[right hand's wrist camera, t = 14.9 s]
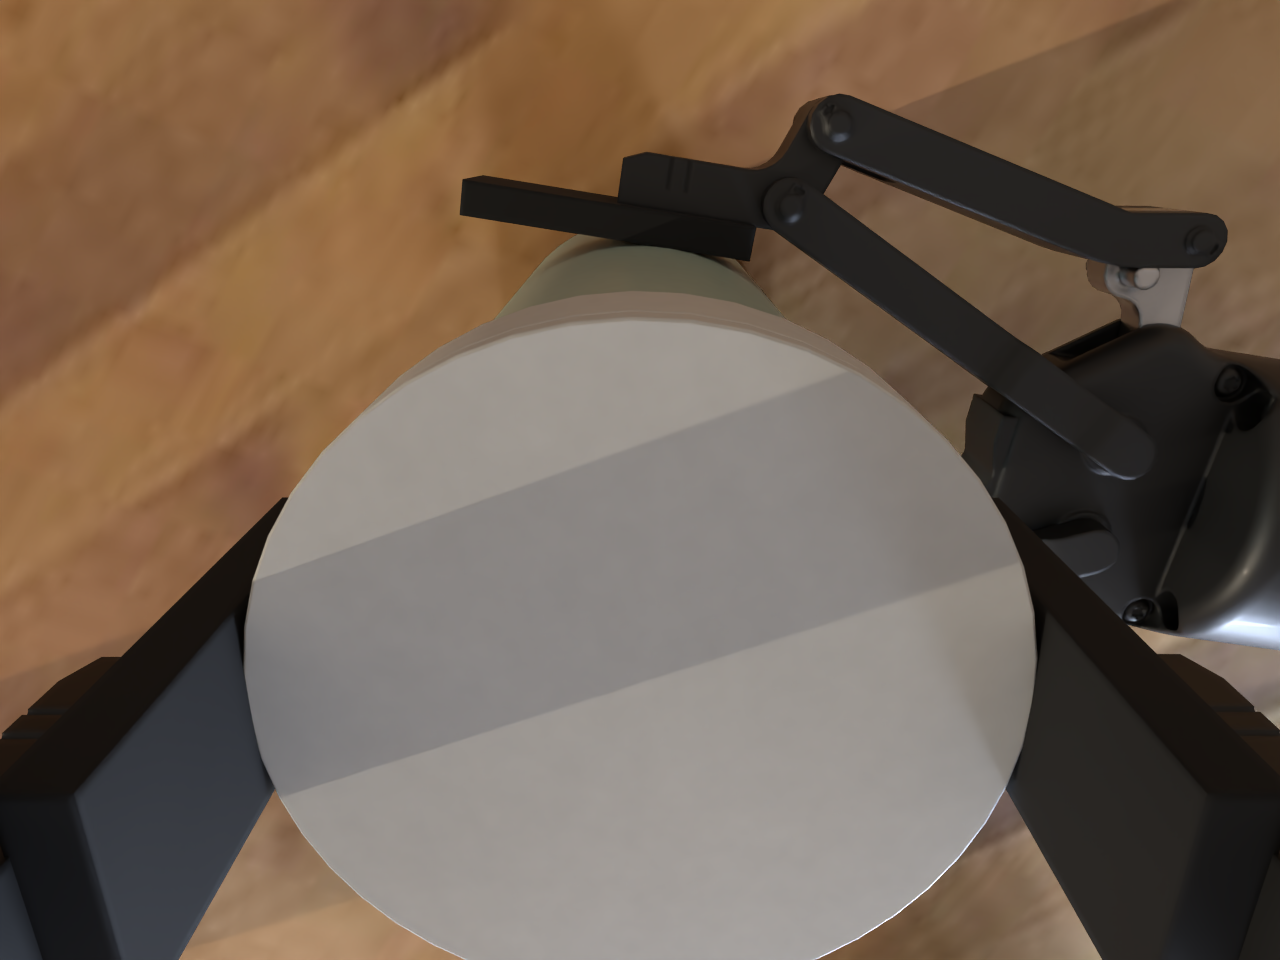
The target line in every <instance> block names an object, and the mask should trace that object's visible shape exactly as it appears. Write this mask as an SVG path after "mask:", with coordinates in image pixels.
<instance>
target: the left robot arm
mask: <svg viewBox="0 0 1280 960" xmlns="http://www.w3.org/2000/svg"><path fill="white" fill-rule="evenodd" d="M840 165H841V166H844V167H846V168H849V169H851V170H854V171H856V172H859V173H861V174H864V175H866V176H869V177H871V178H873V179H876V180H878V181H881V182H883V183H886V184H888V185H891V186H893V187H896V188H898V189H901V190H903V191H906V192H908V193H911V194H913V195H915V196H918V197H920V198H923V199H925V200H928V201H930V202H933V203H935V204H938V205H940V206H943V207H945V208H948V209H950V210H952V211H955V212H957V213H960V214H962V215H965V216H967V217H970V218H972V219H975V220H977V221H980V222H982V223H985V224H987V225H989V226H992V227H994V228H997V229H999V230H1002V231H1004V232H1007V233H1009V234H1012V235H1014V236H1017V237H1019V238H1022V239H1024V240H1027V241H1029V242H1031V243H1034V244H1036V245H1039V246H1042V247H1045V248H1048V249H1051V250H1054V251H1057V252H1061V253H1065V254H1069V255H1073V256H1077V257H1081V258H1085V259H1088V260H1087V262H1086V270H1087V277H1088V281H1089V282H1090V284H1091V285H1092V287H1094V288H1095V289H1096V290H1098V291H1101V292H1105V293H1108V294H1111V295H1112V296H1114V297H1115V298H1116V299H1117V301H1118V302H1119V304H1120V307H1121V319H1118V320H1115V321H1113V322H1111V323H1109V324H1106V325H1104V326H1102V327H1100V328H1098V329H1096V330H1093V331H1091V332H1089V333H1087V334H1085V335H1083V336H1081V337H1078V338H1076V339H1074V340H1072V341H1070V342H1068V343H1066V344H1063V345H1061V346H1059V347H1057V348H1055V349H1053V350H1050V351H1048V352H1046V353H1044V354H1042V355H1040V354H1039V353H1038V352H1036V351H1035V350H1033V349H1032V348H1030V347H1029V346H1027V345H1026V344H1024V343H1023V342H1021V341H1020V340H1018V339H1017V338H1015V337H1014V336H1012V335H1011V334H1010V333H1008V332H1007V331H1006V330H1004V329H1003V328H1002V327H1000V326H999V325H998V324H996V323H995V322H994V321H992V320H991V319H990V318H988V317H987V316H986V315H984V314H983V313H982V312H980V311H979V310H978V309H976V308H975V307H974V306H972V305H971V304H970V303H968V302H967V301H966V300H964V299H963V298H961V297H960V296H959V295H957V294H956V293H955V292H953V291H952V290H951V289H949V288H948V287H947V286H945V285H944V284H943V283H941V282H940V281H939V280H937V279H936V278H935V277H933V276H932V275H931V274H929V273H928V272H927V271H925V270H924V269H923V268H921V267H920V266H919V265H917V264H916V263H915V262H913V261H912V260H911V259H909V258H908V257H907V256H905V255H904V254H903V253H901V252H900V251H899V250H897V249H896V248H895V247H893V246H892V245H890V244H889V243H888V242H886V241H885V240H884V239H882V238H881V237H880V236H878V235H877V234H876V233H874V232H873V231H872V230H870V229H869V228H868V227H866V226H865V225H864V224H862V223H861V222H860V221H858V220H857V219H856V218H854V217H853V216H852V215H850V214H849V213H848V212H846V211H845V210H844V209H842V208H841V207H840V206H838V205H837V204H836V203H834V202H833V201H832V200H830V199H829V198H828V197H826V196H825V195H824V192H825V190H826V189H827V187H828V185H829V184H830V182H831V180H832V179H833V177H834V175H835V174H836V172H837V170H838V169H839V167H840ZM460 215H463V216H469V217H476V218H482V219H488V220H494V221H500V222H507V223H513V224H519V225H525V226H532V227H538V228H544V229H550V230H557V231H563V232H569V233H575V234H581V235H588V236H594V237H600V238H606V239H613V240H619V241H625V242H631V243H637V244H644V245H650V246H656V247H662V248H670V249H675V250H681V251H687V252H693V253H700V254H706V255H712V256H718V257H725V258H731V259H737V260H743V261H749V262H750V257H751V251H752V246H753V241H754V236H755V231H756V227H757V228H763V229H769V230H774V231H775V232H777V233H778V234H779V235H781V236H782V237H783V238H785V239H786V240H788V241H789V242H790V243H792V244H793V245H794V246H796V247H797V248H799V249H800V250H801V251H803V252H804V253H805V254H807V255H808V256H810V257H811V258H812V259H814V260H815V261H817V262H818V263H819V264H821V265H822V266H823V267H825V268H826V269H828V270H829V271H830V272H832V273H833V274H834V275H836V276H837V277H839V278H840V279H841V280H843V281H844V282H845V283H847V284H848V285H850V286H851V287H852V288H854V289H855V290H856V291H858V292H859V293H861V294H862V295H863V296H865V297H866V298H868V299H869V300H870V301H872V302H873V303H874V304H876V305H877V306H879V307H880V308H881V309H883V310H884V311H885V312H887V313H888V314H890V315H891V316H892V317H894V318H895V319H896V320H898V321H899V322H901V323H902V324H903V325H905V326H906V327H907V328H909V329H910V330H912V331H913V332H914V333H916V334H917V335H918V336H920V337H921V338H923V339H924V340H925V341H927V342H928V343H930V344H931V345H932V346H934V347H935V348H936V349H938V350H939V351H941V352H942V353H943V354H945V355H946V356H947V357H949V358H950V359H951V360H953V361H954V362H955V363H957V364H958V365H960V366H961V367H962V368H964V369H965V370H966V371H968V372H969V373H971V374H972V375H973V376H975V377H976V378H977V379H979V380H980V381H982V382H983V383H984V384H986V385H987V386H988V388H987V389H986V390H985V392H984V393H983V395H979V394H974V395H973V399H972V402H971V405H970V409H969V412H968V415H967V419H966V436H965V450H964V452H963V454H962V456H961V457H962V458H963V459H964V461H965V462H966V463H967V464H968V465H969V467H970V468H971V469H972V470H973V471H974V473H975V474H976V475H977V476H978V477H979V479H980V480H981V482H982V483H983V485H984V487H985V488H986V490H987V492H988V493H989V495H990V497H991V498H1000V499H1001V500H1002V501H1003V502H1004V503H1005V504H1006V505H1007V506H1008V507H1009V508H1010V509H1011V510H1012V511H1013V512H1014V513H1015V514H1016V515H1017V516H1018V517H1019V518H1020V519H1021V520H1022V521H1023V522H1024V523H1025V524H1026V525H1027V526H1028V527H1029V528H1030V529H1031V530H1032V531H1033V532H1034V533H1035V534H1036V535H1037V536H1038V537H1039V538H1040V539H1041V540H1042V541H1043V542H1044V543H1045V544H1046V545H1047V546H1048V547H1049V548H1050V549H1051V550H1052V551H1053V552H1054V553H1055V554H1056V555H1057V556H1058V557H1059V558H1060V559H1061V560H1062V561H1063V562H1064V563H1065V564H1066V565H1067V566H1068V567H1069V568H1070V569H1071V570H1072V571H1073V572H1074V573H1075V574H1076V575H1077V576H1078V577H1079V578H1080V579H1081V580H1082V581H1083V582H1085V583H1086V584H1087V585H1088V586H1089V587H1090V588H1091V589H1092V590H1093V591H1094V592H1095V593H1096V594H1097V595H1098V596H1099V597H1100V598H1101V599H1102V600H1103V601H1104V602H1105V603H1106V604H1107V605H1108V606H1109V607H1110V608H1111V609H1112V610H1113V611H1114V612H1115V613H1116V614H1117V615H1118V616H1119V617H1120V618H1121V619H1122V620H1123V621H1124V622H1125V623H1126V624H1127V625H1131V626H1135V627H1139V628H1143V629H1147V630H1150V631H1154V632H1159V633H1163V634H1168V635H1173V636H1180V637H1187V638H1194V639H1202V640H1209V641H1216V642H1223V643H1230V644H1237V645H1245V646H1252V647H1259V648H1266V649H1273V650H1280V359H1274V358H1268V357H1261V356H1255V355H1249V354H1242V353H1236V352H1230V351H1223V350H1217V349H1211V348H1206V347H1205V346H1203V345H1202V344H1200V343H1199V342H1198V341H1197V340H1196V339H1195V338H1194V337H1193V336H1192V335H1191V334H1190V333H1189V332H1187V331H1186V330H1184V329H1182V328H1180V326H1181V322H1182V317H1183V313H1184V308H1185V304H1186V300H1187V295H1188V291H1189V286H1190V282H1191V277H1192V273H1193V269H1194V268H1199V267H1204V266H1206V265H1208V264H1210V263H1211V262H1213V261H1215V260H1216V259H1217V257H1218V256H1219V255H1220V254H1221V253H1222V252H1223V250H1224V247H1225V245H1226V243H1227V232H1228V230H1227V228H1226V226H1225V223H1224V221H1223V220H1221V219H1220V218H1219V217H1218V216H1217V215H1213V214H1208V213H1202V212H1193V211H1185V210H1177V209H1168V208H1160V207H1152V206H1114V205H1112V204H1109V203H1107V202H1104V201H1102V200H1100V199H1097V198H1095V197H1092V196H1090V195H1088V194H1085V193H1083V192H1080V191H1078V190H1076V189H1073V188H1071V187H1068V186H1066V185H1064V184H1061V183H1059V182H1056V181H1054V180H1052V179H1049V178H1047V177H1044V176H1042V175H1040V174H1037V173H1035V172H1032V171H1030V170H1028V169H1025V168H1023V167H1020V166H1018V165H1016V164H1013V163H1011V162H1008V161H1006V160H1004V159H1001V158H999V157H996V156H994V155H992V154H989V153H987V152H984V151H982V150H980V149H977V148H975V147H972V146H970V145H968V144H965V143H963V142H960V141H958V140H956V139H953V138H951V137H948V136H946V135H944V134H941V133H939V132H936V131H934V130H932V129H929V128H927V127H924V126H922V125H920V124H917V123H915V122H912V121H910V120H908V119H905V118H903V117H900V116H898V115H896V114H893V113H891V112H888V111H886V110H884V109H881V108H879V107H876V106H874V105H872V104H869V103H867V102H864V101H862V100H860V99H857V98H855V97H852V96H850V95H844V94H836V95H831V96H826V97H822V98H818V99H816V100H813V101H809V102H807V103H806V104H804V105H803V106H802V107H800V108H799V110H798V112H797V113H796V115H795V116H794V120H793V125H792V127H791V128H790V130H789V132H788V134H787V135H786V137H785V139H784V141H783V142H782V144H781V146H780V148H779V149H778V151H777V152H776V154H775V155H774V156H773V157H772V158H771V159H770V160H769V161H768V162H767V163H765V164H763V165H761V166H758V167H754V168H741V167H735V166H729V165H723V164H717V163H711V162H705V161H699V160H693V159H687V158H681V157H675V156H669V155H663V154H657V153H651V152H644V153H640V154H636V155H631V156H627V157H624V158H623V164H622V171H621V178H620V185H619V192H618V197H613V196H607V195H601V194H595V193H588V192H582V191H576V190H570V189H564V188H558V187H552V186H546V185H539V184H533V183H527V182H521V181H515V180H509V179H503V178H497V177H491V176H484V175H482V176H477V177H472V178H467V179H463V180H462V193H461V205H460Z"/></svg>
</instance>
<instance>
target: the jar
mask: <svg viewBox="0 0 1280 960" xmlns="http://www.w3.org/2000/svg"><path fill="white" fill-rule="evenodd" d="M626 291H644V292H666V293H685V294H691V295H696V296H702V297H707V298H713V299H718V300H724V301H730V302H735V303H738V304H741V305H744V306H747V307H750V308H754V309H757V310H760V311H763V312H766V313H769V314H772V315H775V316H778V317H781V318H784V316H783V315H782V314H781V313H780V312H779V310H778V309H777V308H776V307H775V306H774V304H773V303H772V302H771V301H770V300H769V298H768V297H767V296H766V295H765V294H764V292H763V291H762V290H761V289H760V288H759V287H758V285H757V284H756V283H755V282H754V281H753V279H752V278H751V277H750V276H749V275H748V273H747V272H746V271H745V270H744V269H743V267H742V266H741V265H740V264H739V263H738V262H737V261H736V260H735V259H731V258H725V257H718V256H712V255H706V254H700V253H693V252H687V251H681V250H675V249H670V248H662V247H656V246H650V245H644V244H637V243H631V242H625V241H619V240H613V239H606V238H600V237H594V236H588V235H581V234H577V235H575V236H573V237H572V238H570V239H569V240H567V241H566V242H564V243H563V244H561V245H560V246H558V247H557V248H556V249H555V250H554V251H553V252H552V253H551V254H549V255H548V256H547V257H546V258H545V259H544V260H543V261H542V263H541V264H540V265H539V266H538V267H537V268H536V270H535V271H534V272H533V273H532V274H531V276H530V277H529V278H528V279H527V280H526V282H525V283H524V284H523V285H522V286H521V288H520V289H519V290H518V291H517V292H516V294H515V295H514V296H513V297H512V298H511V300H510V301H509V302H508V303H507V304H506V306H505V307H504V308H503V309H502V310H501V312H500V313H499V314H498V315H497V316H496V318H495V319H498V318H501V317H503V316H506V315H509V314H511V313H514V312H517V311H520V310H522V309H525V308H528V307H531V306H535V305H540V304H544V303H549V302H553V301H558V300H562V299H567V298H571V297H575V296H580V295H591V294H603V293H614V292H626ZM495 319H494V320H495ZM784 319H785V318H784Z"/></svg>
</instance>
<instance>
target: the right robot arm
mask: <svg viewBox="0 0 1280 960" xmlns="http://www.w3.org/2000/svg"><path fill="white" fill-rule="evenodd" d="M287 500H288V498H281V499H280V500H279V501H278V502H277V503H276V504H275V505H274V506H273V507H272V508H271V509H270V510H269V511H268V512H267V513H266V514H265V515H264V516H263V517H262V518H261V519H260V520H259V521H258V522H257V523H256V524H255V525H254V526H253V527H252V528H251V529H250V530H249V531H248V532H247V533H246V534H245V535H244V536H243V537H242V538H241V539H240V540H239V541H238V542H237V543H236V544H235V545H234V546H233V547H232V548H231V549H230V550H229V551H228V552H227V553H226V554H225V555H224V556H223V557H222V558H221V559H220V560H219V561H218V562H217V563H216V564H215V565H214V566H213V567H212V568H211V569H210V570H209V571H208V572H207V573H206V574H205V575H204V576H203V577H202V578H201V579H200V580H199V581H198V582H197V583H196V584H195V585H193V586H192V587H191V588H190V589H189V590H188V591H187V592H186V593H185V594H184V595H183V596H182V597H181V598H180V599H179V600H178V601H177V602H176V603H175V604H174V605H173V606H172V607H171V608H170V609H169V610H168V611H167V612H166V613H165V614H164V615H163V616H162V617H161V618H160V619H159V620H158V621H157V622H156V623H155V624H154V625H153V626H152V627H151V628H150V629H149V630H148V631H147V632H146V633H145V634H144V635H143V636H142V637H141V638H140V639H139V640H138V641H137V642H136V643H135V644H134V645H133V646H132V647H131V648H130V649H129V650H128V651H127V652H126V653H125V654H124V655H123V656H122V657H101V658H99V659H97V660H95V661H94V662H92V663H90V664H88V665H87V666H85V667H83V668H81V669H79V670H78V671H76V672H74V673H72V674H70V675H69V676H67V677H65V678H63V679H62V680H60V681H58V682H57V683H56V684H55V685H54V686H53V687H52V688H51V689H50V690H48V691H47V692H46V693H45V694H44V695H43V696H42V697H41V698H40V699H39V700H38V701H37V702H36V703H34V704H33V705H32V706H31V707H30V708H29V709H28V714H27V715H21V716H20V717H19V718H18V719H17V720H16V721H15V722H14V723H13V724H12V725H11V726H10V727H8V728H7V729H6V730H5V731H4V732H3V733H2V735H3V736H2V739H0V960H179V958H180V956H181V954H182V953H183V951H184V949H185V947H186V946H187V944H188V942H189V940H190V938H191V937H192V935H193V933H194V931H195V930H196V928H197V926H198V924H199V923H200V921H201V919H202V917H203V915H204V914H205V912H206V910H207V908H208V907H209V905H210V903H211V901H212V900H213V898H214V896H215V894H216V892H217V891H218V889H219V887H220V885H221V884H222V882H223V880H224V878H225V877H226V875H227V873H228V871H229V869H230V868H231V866H232V864H233V862H234V861H235V859H236V857H237V855H238V854H239V852H240V850H241V848H242V846H243V845H244V843H245V841H246V839H247V838H248V836H249V834H250V832H251V831H252V829H253V827H254V825H255V823H256V822H257V820H258V818H259V816H260V815H261V813H262V811H263V809H264V808H265V806H266V804H267V802H268V801H269V799H270V797H271V795H272V793H273V792H274V790H275V787H274V785H273V783H272V780H271V778H270V776H269V774H268V772H267V770H266V767H265V765H264V763H263V761H262V759H261V755H260V752H259V748H258V744H257V739H256V734H255V730H254V725H253V720H252V714H251V709H250V704H249V698H248V692H247V687H246V681H245V675H244V669H243V665H244V625H245V619H246V614H247V608H248V603H249V597H250V591H251V586H252V581H253V578H254V575H255V572H256V569H257V566H258V563H259V560H260V558H261V555H262V552H263V549H264V546H265V543H266V540H267V537H268V535H269V533H270V531H271V530H272V528H273V526H274V524H275V522H276V520H277V518H278V516H279V515H280V513H281V511H282V509H283V507H284V505H285V503H286V502H287ZM992 500H993V502H994V503H995V505H996V507H997V508H998V510H999V512H1000V513H1001V515H1002V517H1003V518H1004V520H1005V522H1006V524H1007V526H1008V529H1009V531H1010V534H1011V536H1012V539H1013V541H1014V544H1015V546H1016V549H1017V551H1018V554H1019V556H1020V559H1021V561H1022V563H1023V566H1024V570H1025V574H1026V578H1027V583H1028V587H1029V591H1030V596H1031V600H1032V604H1033V609H1034V615H1035V630H1036V645H1037V669H1036V679H1035V685H1034V691H1033V697H1032V703H1031V708H1030V713H1029V718H1028V723H1027V728H1026V733H1025V738H1024V743H1023V747H1022V750H1021V752H1020V755H1019V757H1018V760H1017V762H1016V765H1015V767H1014V770H1013V772H1012V775H1011V777H1010V780H1009V782H1008V785H1007V787H1006V790H1007V792H1008V794H1009V795H1010V797H1011V799H1012V801H1013V802H1014V804H1015V806H1016V808H1017V809H1018V811H1019V813H1020V815H1021V816H1022V818H1023V820H1024V822H1025V824H1026V825H1027V827H1028V829H1029V831H1030V832H1031V834H1032V836H1033V838H1034V839H1035V841H1036V843H1037V845H1038V847H1039V848H1040V850H1041V852H1042V854H1043V855H1044V857H1045V859H1046V861H1047V862H1048V864H1049V866H1050V868H1051V870H1052V871H1053V873H1054V875H1055V877H1056V878H1057V880H1058V882H1059V884H1060V885H1061V887H1062V889H1063V891H1064V893H1065V894H1066V896H1067V898H1068V900H1069V901H1070V903H1071V905H1072V907H1073V908H1074V910H1075V912H1076V914H1077V916H1078V917H1079V919H1080V921H1081V923H1082V924H1083V926H1084V928H1085V930H1086V931H1087V933H1088V935H1089V937H1090V938H1091V940H1092V942H1093V944H1094V946H1095V947H1096V949H1097V951H1098V953H1099V954H1100V956H1101V958H1102V960H1280V730H1279V729H1278V728H1277V727H1276V726H1275V725H1274V724H1273V723H1272V722H1271V721H1269V720H1268V719H1267V718H1266V717H1265V716H1264V715H1263V714H1262V713H1261V712H1255V711H1254V706H1253V705H1252V704H1251V703H1250V702H1249V701H1248V700H1247V699H1245V698H1244V697H1243V696H1242V695H1241V694H1240V693H1239V692H1238V691H1237V690H1236V689H1235V688H1233V687H1232V686H1231V685H1230V684H1229V683H1228V682H1227V681H1226V680H1225V679H1224V678H1222V677H1220V676H1218V675H1217V674H1215V673H1213V672H1211V671H1209V670H1208V669H1206V668H1204V667H1202V666H1200V665H1199V664H1197V663H1195V662H1193V661H1192V660H1190V659H1188V658H1186V657H1184V656H1183V655H1181V654H1156V653H1155V652H1154V651H1153V650H1152V649H1151V648H1150V647H1149V646H1148V645H1147V644H1146V643H1145V642H1144V641H1143V640H1142V639H1141V638H1140V637H1139V636H1138V635H1137V634H1136V633H1135V632H1134V631H1133V630H1132V629H1131V628H1130V627H1129V626H1128V625H1127V624H1126V623H1125V622H1124V621H1123V620H1122V619H1121V618H1120V617H1119V616H1118V615H1117V614H1116V613H1115V612H1114V611H1113V610H1112V609H1111V608H1110V607H1109V606H1108V605H1107V604H1106V603H1105V602H1104V601H1103V600H1102V599H1101V598H1100V597H1099V596H1098V595H1097V594H1096V593H1095V592H1094V591H1093V590H1092V589H1091V588H1090V587H1089V586H1088V585H1087V584H1086V583H1085V582H1083V581H1082V580H1081V579H1080V578H1079V577H1078V576H1077V575H1076V574H1075V573H1074V572H1073V571H1072V570H1071V569H1070V568H1069V567H1068V566H1067V565H1066V564H1065V563H1064V562H1063V561H1062V560H1061V559H1060V558H1059V557H1058V556H1057V555H1056V554H1055V553H1054V552H1053V551H1052V550H1051V549H1050V548H1049V547H1048V546H1047V545H1046V544H1045V543H1044V542H1043V541H1042V540H1041V539H1040V538H1039V537H1038V536H1037V535H1036V534H1035V533H1034V532H1033V531H1032V530H1031V529H1030V528H1029V527H1028V526H1027V525H1026V524H1025V523H1024V522H1023V521H1022V520H1021V519H1020V518H1019V517H1018V516H1017V515H1016V514H1015V513H1014V512H1013V511H1012V510H1011V509H1010V508H1009V507H1008V506H1007V505H1006V504H1005V503H1004V502H1003V501H1002V500H1001V499H1000V498H992Z"/></svg>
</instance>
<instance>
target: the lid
mask: <svg viewBox="0 0 1280 960" xmlns="http://www.w3.org/2000/svg"><path fill="white" fill-rule="evenodd" d="M243 669H244V675H245V681H246V687H247V692H248V698H249V704H250V709H251V714H252V720H253V725H254V730H255V734H256V739H257V744H258V748H259V752H260V755H261V759H262V761H263V763H264V765H265V767H266V770H267V772H268V774H269V776H270V778H271V780H272V783H273V785H274V787H275V789H276V791H277V794H278V796H279V798H280V800H281V801H282V803H283V804H284V806H285V808H286V809H287V811H288V812H289V814H290V815H291V817H292V819H293V820H294V822H295V823H296V825H297V826H298V828H299V830H300V831H301V833H302V834H303V836H304V837H305V838H306V839H307V840H308V842H309V843H310V844H311V845H312V846H313V848H314V849H315V850H316V851H317V852H318V854H319V855H320V856H321V857H322V858H323V860H324V861H325V862H326V863H327V865H328V866H329V867H330V868H331V869H332V870H333V871H334V872H335V873H336V874H337V875H338V876H339V877H341V878H342V879H343V880H344V881H345V882H346V883H347V884H348V885H349V886H350V887H351V888H352V889H353V890H354V891H355V892H356V893H358V894H359V895H360V896H361V897H362V898H363V899H364V900H366V901H367V902H369V903H370V904H371V905H373V906H374V907H375V908H377V909H378V910H379V911H381V912H382V913H383V914H385V915H386V916H387V917H389V918H390V919H391V920H393V921H394V922H395V923H397V924H398V925H400V926H402V927H404V928H405V929H407V930H409V931H410V932H412V933H414V934H416V935H417V936H419V937H421V938H422V939H424V940H426V941H428V942H429V943H431V944H433V945H434V946H437V947H439V948H441V949H443V950H445V951H448V952H450V953H452V954H454V955H457V956H459V957H461V958H463V959H465V960H815V959H818V958H820V957H822V956H824V955H826V954H828V953H830V952H832V951H834V950H836V949H838V948H841V947H843V946H845V945H847V944H849V943H851V942H853V941H855V940H857V939H859V938H860V937H862V936H863V935H865V934H867V933H868V932H870V931H871V930H873V929H874V928H876V927H878V926H879V925H881V924H882V923H884V922H886V921H887V920H889V919H890V918H892V917H893V916H895V915H896V914H898V913H899V912H900V911H901V910H903V909H904V908H905V907H906V906H907V905H909V904H910V903H911V902H912V901H914V900H915V899H916V898H917V897H919V896H920V895H921V894H922V893H924V892H925V891H926V890H927V889H929V888H930V887H931V886H932V885H933V884H934V883H935V882H936V881H937V880H938V879H939V878H940V877H941V876H942V875H943V874H944V872H945V871H946V870H947V869H948V868H949V867H950V866H951V865H952V864H953V863H954V862H955V861H956V860H957V859H958V858H959V857H960V856H961V855H962V853H963V852H964V851H965V849H966V848H967V847H968V845H969V844H970V843H971V841H972V840H973V839H974V838H975V836H976V835H977V834H978V832H979V831H980V830H981V828H982V827H983V826H984V824H985V823H986V821H987V820H988V818H989V816H990V814H991V813H992V811H993V809H994V808H995V806H996V804H997V802H998V801H999V799H1000V797H1001V795H1002V794H1003V792H1004V790H1005V788H1006V787H1007V785H1008V782H1009V780H1010V777H1011V775H1012V772H1013V770H1014V767H1015V765H1016V762H1017V760H1018V757H1019V755H1020V752H1021V750H1022V747H1023V743H1024V738H1025V733H1026V728H1027V723H1028V718H1029V713H1030V708H1031V703H1032V697H1033V691H1034V685H1035V679H1036V669H1037V645H1036V630H1035V615H1034V609H1033V604H1032V600H1031V596H1030V591H1029V587H1028V583H1027V578H1026V574H1025V570H1024V566H1023V563H1022V561H1021V559H1020V556H1019V554H1018V551H1017V549H1016V546H1015V544H1014V541H1013V539H1012V536H1011V534H1010V531H1009V529H1008V526H1007V524H1006V522H1005V520H1004V518H1003V517H1002V515H1001V513H1000V512H999V510H998V508H997V507H996V505H995V503H994V502H993V500H992V498H991V497H990V495H989V493H988V492H987V490H986V488H985V487H984V485H983V483H982V482H981V480H980V479H979V477H978V476H977V475H976V474H975V473H974V471H973V470H972V469H971V468H970V467H969V465H968V464H967V463H966V462H965V461H964V459H963V458H962V457H961V456H960V454H959V453H958V452H957V451H956V450H955V448H954V447H953V446H952V445H951V444H950V442H949V441H948V440H947V439H946V438H945V437H944V436H943V435H942V434H941V433H940V432H939V431H938V430H937V429H936V428H935V427H934V426H932V425H931V424H930V423H929V422H928V421H927V420H926V419H925V418H924V417H923V416H922V415H921V414H920V413H919V412H918V411H917V410H916V409H915V408H914V407H913V406H912V405H911V404H910V403H909V402H908V401H906V400H905V399H904V398H903V397H902V396H901V395H900V394H899V393H898V392H897V391H895V390H894V389H893V388H892V387H891V386H890V385H889V384H888V383H887V382H885V381H884V380H883V379H882V378H881V377H880V376H879V375H878V374H876V373H875V372H874V371H873V370H872V369H871V368H870V367H869V366H867V365H866V364H864V363H863V362H861V361H860V360H858V359H857V358H855V357H854V356H852V355H851V354H849V353H848V352H846V351H845V350H843V349H842V348H840V347H839V346H837V345H836V344H834V343H833V342H831V341H830V340H828V339H826V338H824V337H822V336H820V335H817V334H815V333H813V332H811V331H809V330H807V329H805V328H803V327H801V326H799V325H797V324H795V323H793V322H790V321H788V320H786V319H784V318H781V317H778V316H775V315H772V314H769V313H766V312H763V311H760V310H757V309H754V308H750V307H747V306H744V305H741V304H738V303H735V302H730V301H724V300H718V299H713V298H707V297H702V296H696V295H691V294H685V293H666V292H644V291H626V292H614V293H603V294H591V295H580V296H575V297H571V298H567V299H562V300H558V301H553V302H549V303H544V304H540V305H535V306H531V307H528V308H525V309H522V310H520V311H517V312H514V313H511V314H509V315H506V316H503V317H501V318H498V319H495V320H493V321H490V322H487V323H484V324H482V325H480V326H478V327H476V328H474V329H473V330H471V331H469V332H467V333H465V334H463V335H461V336H460V337H458V338H456V339H454V340H452V341H450V342H448V343H446V344H445V345H443V346H441V347H439V348H438V349H436V350H435V351H433V352H432V353H431V354H429V355H428V356H427V357H425V358H424V359H422V360H421V361H420V362H418V363H417V364H416V365H414V366H413V367H412V368H410V369H409V370H407V371H406V372H405V373H403V374H402V375H401V376H399V377H398V378H397V379H396V380H395V381H394V382H393V383H392V384H391V385H390V386H389V387H388V388H387V389H386V390H385V391H384V392H383V393H382V394H381V395H380V396H379V397H378V398H377V399H376V400H375V401H373V402H372V403H371V404H370V405H369V406H368V407H367V408H366V409H365V410H364V411H363V412H362V413H361V414H360V415H359V416H358V417H357V418H356V419H355V420H354V421H353V422H352V423H351V424H350V425H349V426H348V427H347V428H346V429H345V430H344V431H343V432H342V433H341V434H340V435H339V436H338V437H337V438H336V439H335V440H333V441H332V442H331V443H330V444H329V445H328V446H327V447H326V448H325V449H324V450H323V451H322V452H321V454H320V455H319V456H318V458H317V459H316V460H315V462H314V463H313V464H312V466H311V467H310V468H309V470H308V471H307V472H306V474H305V475H304V476H303V478H302V479H301V480H300V482H299V483H298V484H297V486H296V487H295V488H294V490H293V491H292V492H291V494H290V496H289V498H288V500H287V502H286V503H285V505H284V507H283V509H282V511H281V513H280V515H279V516H278V518H277V520H276V522H275V524H274V526H273V528H272V530H271V531H270V533H269V535H268V537H267V540H266V543H265V546H264V549H263V552H262V555H261V558H260V560H259V563H258V566H257V569H256V572H255V575H254V578H253V581H252V586H251V591H250V597H249V603H248V608H247V614H246V619H245V625H244V665H243Z"/></svg>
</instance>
